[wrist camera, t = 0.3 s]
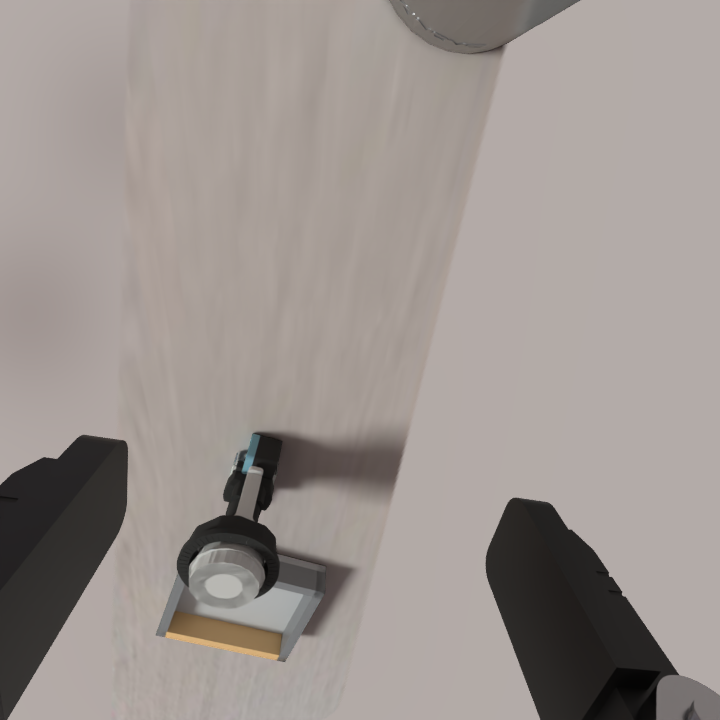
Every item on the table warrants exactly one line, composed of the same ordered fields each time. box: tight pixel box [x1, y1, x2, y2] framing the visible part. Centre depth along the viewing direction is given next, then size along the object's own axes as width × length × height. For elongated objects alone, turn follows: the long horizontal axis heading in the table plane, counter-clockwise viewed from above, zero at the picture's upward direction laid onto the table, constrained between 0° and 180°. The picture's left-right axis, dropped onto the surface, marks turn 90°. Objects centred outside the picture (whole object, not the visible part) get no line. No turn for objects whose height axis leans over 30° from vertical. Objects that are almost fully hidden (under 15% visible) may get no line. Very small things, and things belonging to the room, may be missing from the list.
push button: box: [177, 434, 282, 609], centre depth 27 cm, size 7×5×10 cm
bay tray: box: [156, 548, 326, 662], centre depth 36 cm, size 10×11×2 cm
